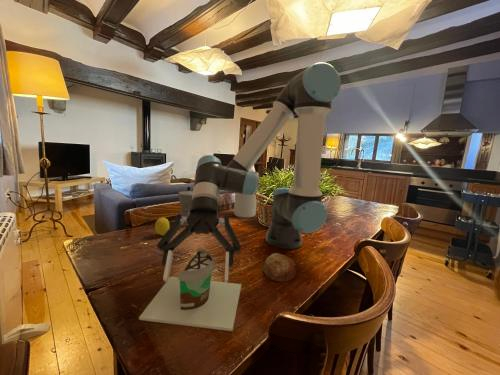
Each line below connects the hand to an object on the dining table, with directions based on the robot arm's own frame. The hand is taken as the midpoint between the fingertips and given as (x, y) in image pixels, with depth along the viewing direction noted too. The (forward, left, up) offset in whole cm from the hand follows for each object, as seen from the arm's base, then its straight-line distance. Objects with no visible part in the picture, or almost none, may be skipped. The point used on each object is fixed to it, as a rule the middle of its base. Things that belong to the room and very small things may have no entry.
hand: (196, 281), depth 52 cm
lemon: (+26, -39, -7) cm, 48 cm away
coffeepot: (+21, -56, -7) cm, 61 cm away
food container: (0, -2, -6) cm, 7 cm away
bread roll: (-21, -20, -7) cm, 29 cm away
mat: (0, -2, -7) cm, 7 cm away
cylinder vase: (-4, -80, -7) cm, 81 cm away
